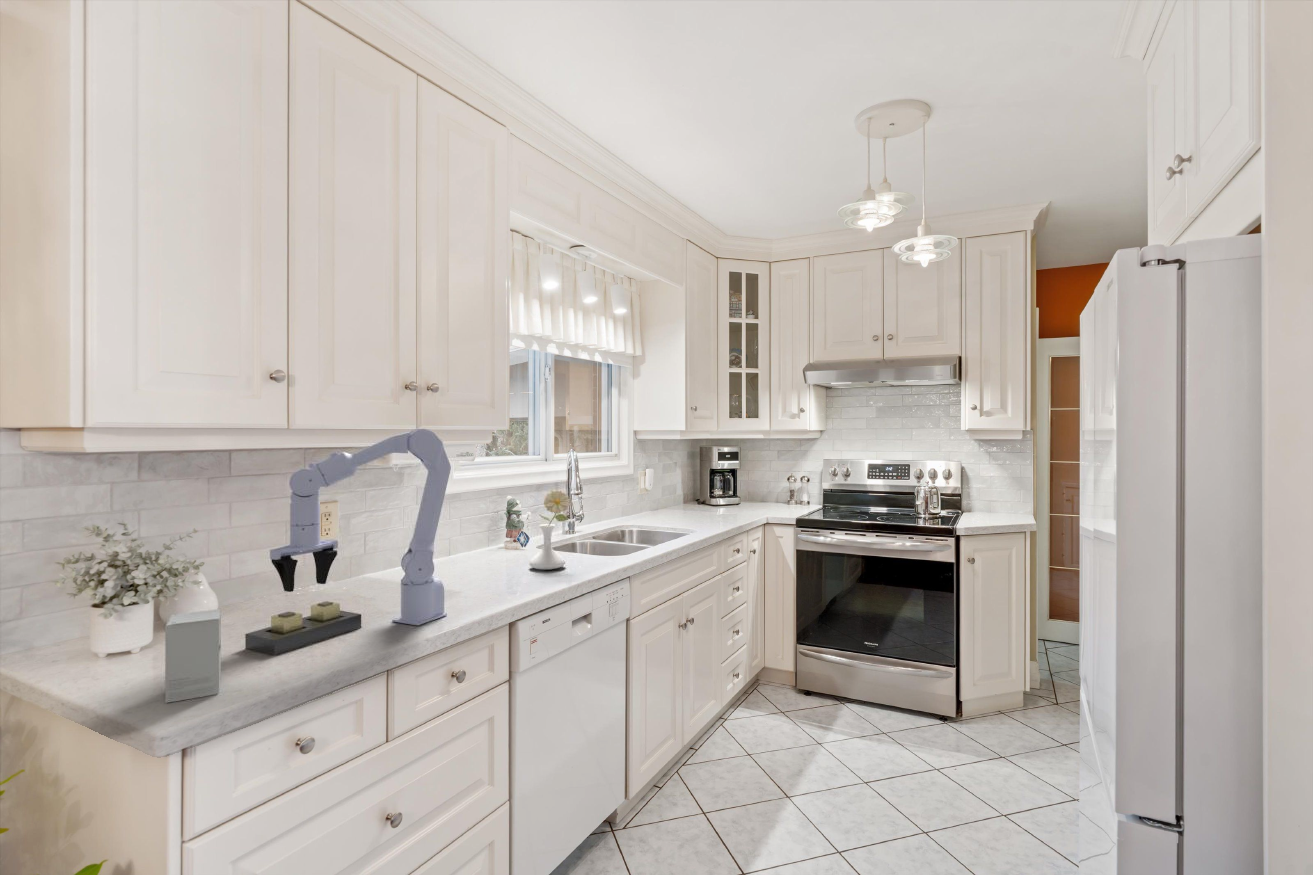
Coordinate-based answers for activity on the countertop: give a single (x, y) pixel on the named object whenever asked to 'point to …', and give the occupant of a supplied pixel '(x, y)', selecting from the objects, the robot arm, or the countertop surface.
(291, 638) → the rail
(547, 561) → the flower in vase
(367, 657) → the countertop surface
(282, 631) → the block
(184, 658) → the supplement box
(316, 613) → the seated nut
